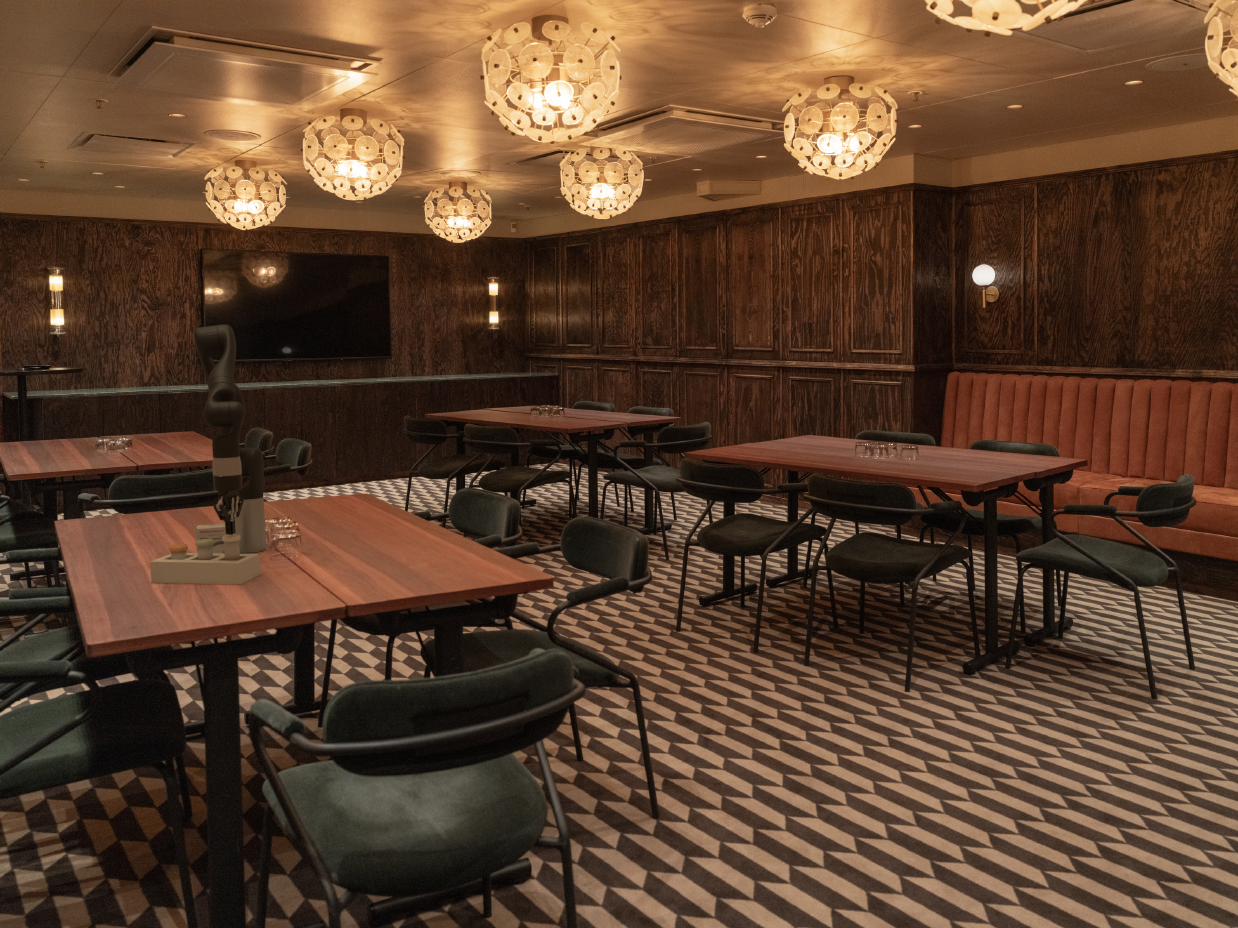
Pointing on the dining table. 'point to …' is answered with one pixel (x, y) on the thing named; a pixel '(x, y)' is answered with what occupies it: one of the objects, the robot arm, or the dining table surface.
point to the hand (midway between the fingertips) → (230, 534)
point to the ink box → (212, 535)
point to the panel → (205, 569)
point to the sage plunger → (205, 549)
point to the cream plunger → (231, 547)
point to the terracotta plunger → (178, 551)
